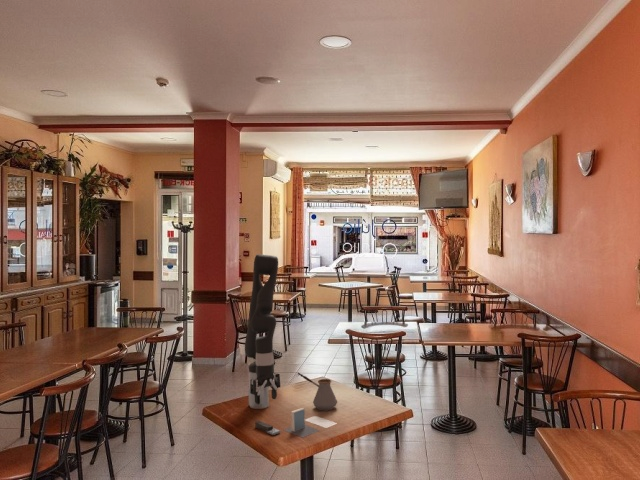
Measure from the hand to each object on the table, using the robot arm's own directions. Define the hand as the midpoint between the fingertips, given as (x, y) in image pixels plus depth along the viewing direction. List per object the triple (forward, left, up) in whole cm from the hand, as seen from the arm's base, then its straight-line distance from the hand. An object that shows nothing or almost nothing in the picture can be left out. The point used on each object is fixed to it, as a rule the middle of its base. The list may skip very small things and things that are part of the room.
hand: (266, 401), depth 217 cm
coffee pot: (-7, +36, -13) cm, 39 cm away
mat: (+11, +10, -13) cm, 20 cm away
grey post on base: (0, 0, -13) cm, 13 cm away
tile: (+9, +10, -12) cm, 18 cm away
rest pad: (+10, +22, -13) cm, 27 cm away
